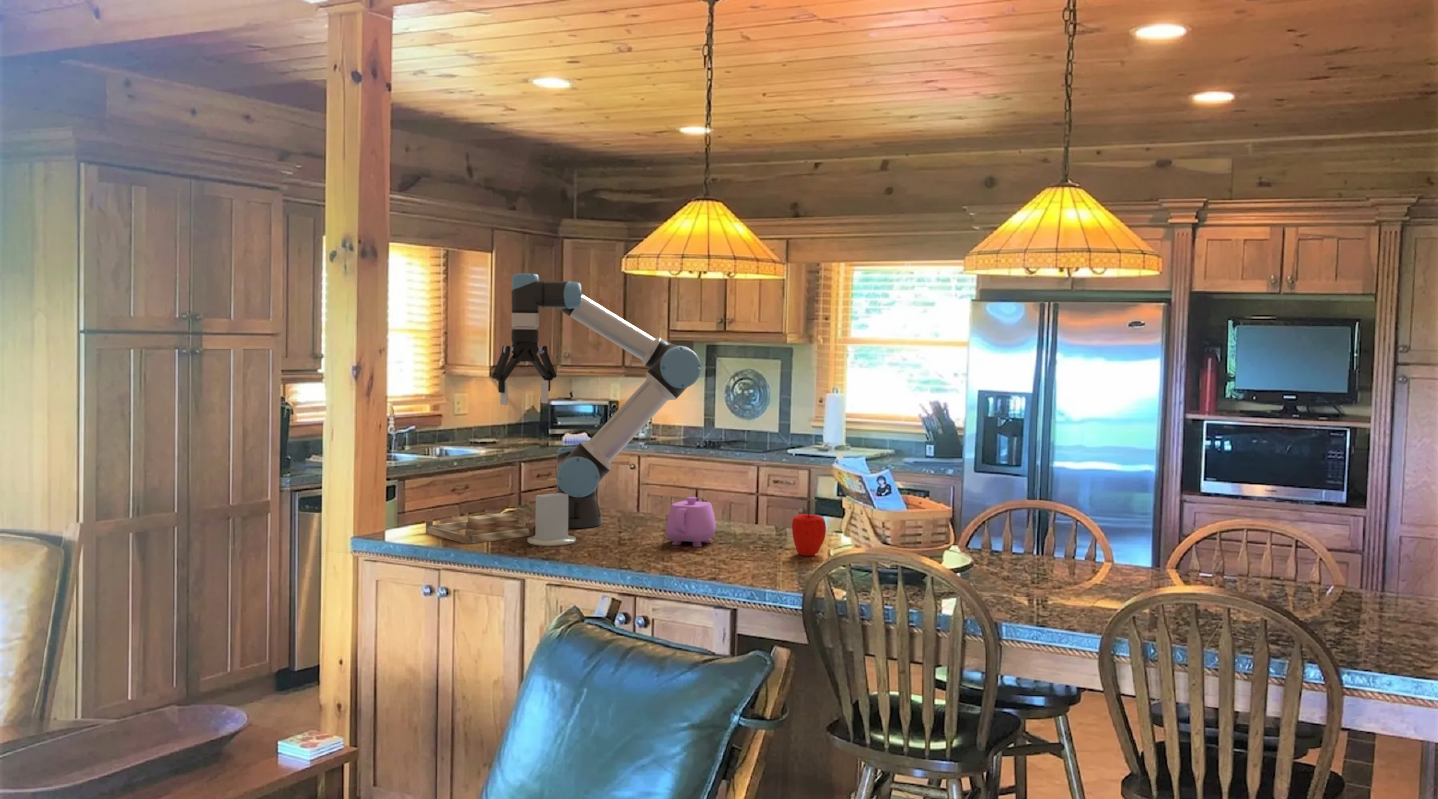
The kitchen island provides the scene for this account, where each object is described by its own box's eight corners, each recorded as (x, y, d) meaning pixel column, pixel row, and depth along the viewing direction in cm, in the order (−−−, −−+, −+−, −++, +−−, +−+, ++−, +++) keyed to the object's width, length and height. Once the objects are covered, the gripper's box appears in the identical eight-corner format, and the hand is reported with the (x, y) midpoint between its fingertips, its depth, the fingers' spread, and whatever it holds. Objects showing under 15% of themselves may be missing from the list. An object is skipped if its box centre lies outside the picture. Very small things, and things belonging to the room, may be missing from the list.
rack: (489, 524, 339) (489, 513, 339) (532, 535, 323) (532, 522, 323) (425, 532, 325) (425, 520, 324) (467, 544, 309) (467, 531, 309)
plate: (556, 535, 324) (556, 532, 324) (585, 541, 314) (585, 539, 314) (518, 540, 315) (518, 537, 315) (546, 547, 305) (546, 544, 305)
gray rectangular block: (559, 535, 319) (559, 492, 318) (568, 537, 316) (568, 494, 315) (535, 539, 313) (535, 495, 312) (544, 541, 310) (544, 497, 310)
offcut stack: (509, 533, 326) (509, 512, 326) (519, 535, 323) (519, 514, 322) (465, 538, 316) (465, 517, 316) (475, 541, 313) (475, 519, 312)
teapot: (699, 551, 304) (700, 503, 303) (656, 547, 308) (656, 500, 307) (724, 538, 323) (725, 493, 322) (683, 535, 327) (684, 491, 326)
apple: (832, 555, 301) (832, 514, 300) (809, 559, 295) (810, 517, 294) (806, 550, 307) (807, 510, 306) (784, 554, 301) (785, 513, 300)
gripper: (553, 328, 335) (552, 401, 337) (479, 327, 318) (479, 404, 319) (568, 329, 330) (568, 403, 331) (494, 328, 312) (494, 406, 314)
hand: (524, 403), depth 325 cm, fingers open, 13 cm apart
